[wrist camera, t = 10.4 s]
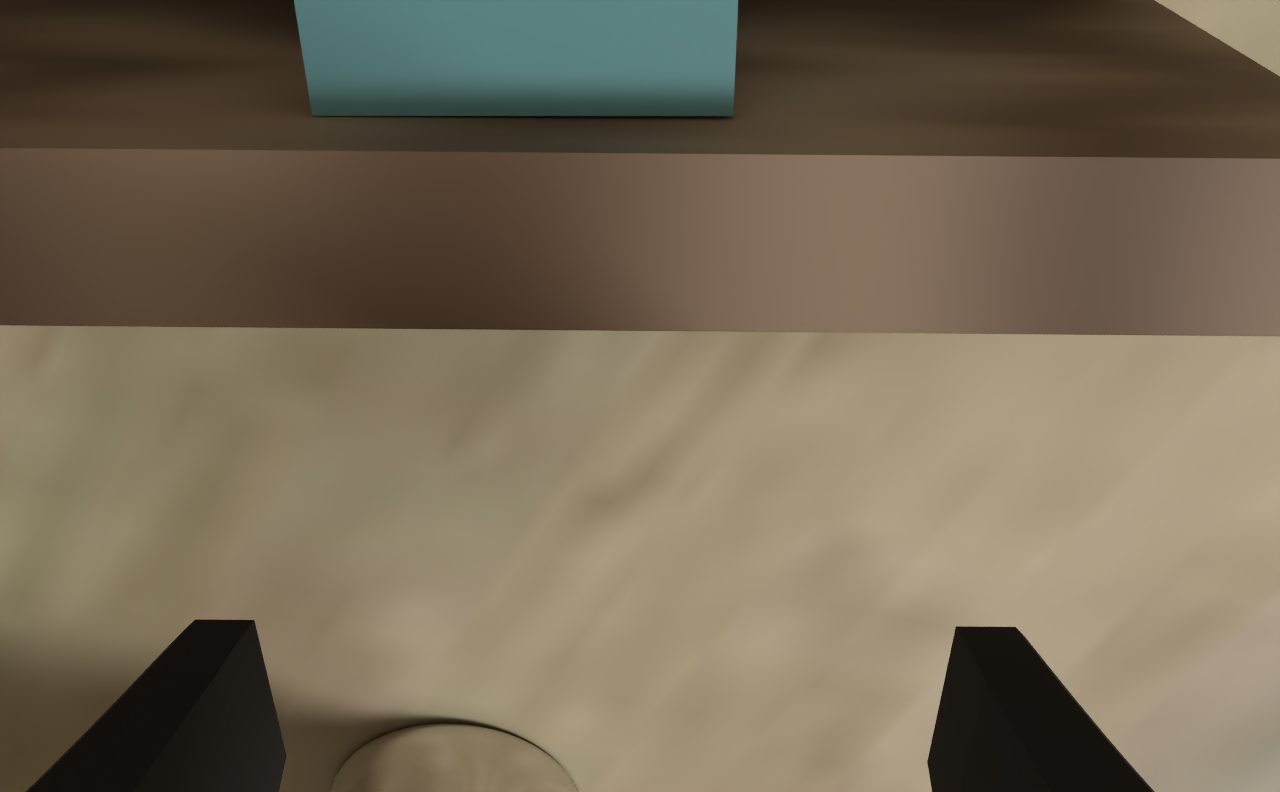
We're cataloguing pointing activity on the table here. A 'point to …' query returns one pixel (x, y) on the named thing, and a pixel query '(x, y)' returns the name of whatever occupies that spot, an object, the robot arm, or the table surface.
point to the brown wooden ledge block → (652, 181)
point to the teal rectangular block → (519, 57)
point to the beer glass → (451, 763)
